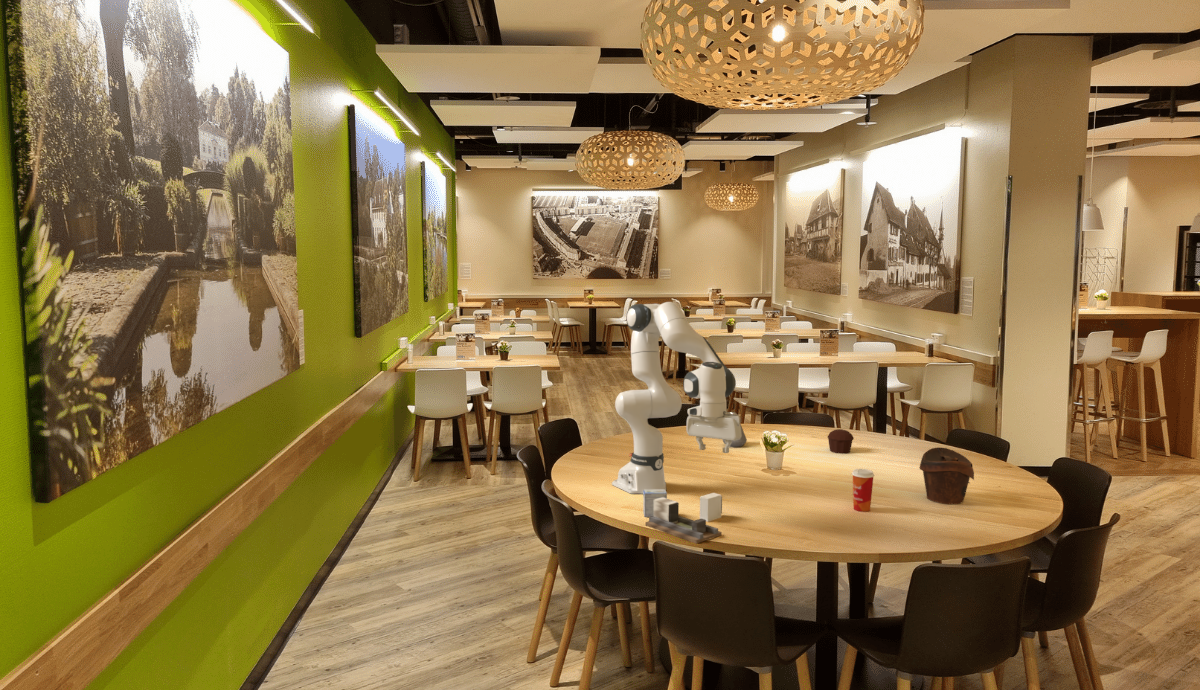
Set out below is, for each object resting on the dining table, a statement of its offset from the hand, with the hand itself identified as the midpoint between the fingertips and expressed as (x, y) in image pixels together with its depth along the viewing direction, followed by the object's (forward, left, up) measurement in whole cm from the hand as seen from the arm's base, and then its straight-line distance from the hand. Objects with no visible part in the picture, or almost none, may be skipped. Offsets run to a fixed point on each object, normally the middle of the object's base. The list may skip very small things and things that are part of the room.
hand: (714, 451), depth 274 cm
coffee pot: (-64, +87, -25) cm, 110 cm away
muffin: (-27, +119, -25) cm, 124 cm away
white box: (-3, +2, -24) cm, 25 cm away
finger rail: (-1, -14, -24) cm, 28 cm away
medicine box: (-18, -10, -25) cm, 32 cm away
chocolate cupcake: (+40, +84, -25) cm, 96 cm away
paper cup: (+26, +50, -25) cm, 61 cm away
